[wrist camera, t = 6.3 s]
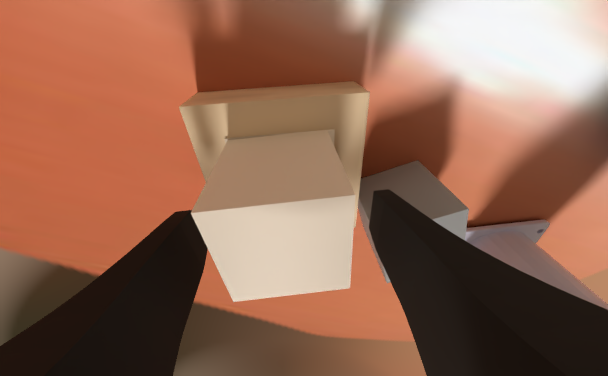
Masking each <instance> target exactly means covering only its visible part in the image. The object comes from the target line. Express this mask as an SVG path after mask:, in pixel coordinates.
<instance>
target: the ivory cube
mask: <svg viewBox="0 0 608 376" xmlns="http://www.w3.org/2000/svg"><path fill="white" fill-rule="evenodd" d="M354 211H355V193H354V191H353V188H352V186H351V184H350V181H349V179H348V177H347V175H346V172H345V170H344V168H343V165H342V163H341V161H340V159H339V156H338V154H337V152H336V149H335V147H334V145H333V143H332V140H331V138H330V136H329V133H328V131H327V130H319V131H310V132H301V133H291V134H282V135H273V136H263V137H254V138H244V139H235V140H228V141H227V143H226V145H225V147H224V149H223V151H222V153H221V154H220V156H219V158H218V160H217V162H216V164H215V166H214V168H213V170H212V172H211V174H210V176H209V178H208V180H207V182H206V184H205V186H204V188H203V190H202V192H201V194H200V196H199V198H198V200H197V202H196V204H195V206H194V208H193V210H192V212H191V215H192V217H193V219H194V221H195V223H196V225H197V227H198V229H199V231H200V233H201V235H202V238H203V240H204V242H205V244H206V246H207V248H208V250H209V252H210V254H211V256H212V258H213V260H214V262H215V264H216V266H217V269H218V271H219V273H220V275H221V277H222V279H223V281H224V283H225V285H226V287H227V289H228V291H229V293H230V295H231V297H232V300H233V302H236V301H244V300H253V299H262V298H270V297H279V296H287V295H296V294H305V293H313V292H322V291H330V290H339V289H347V288H350V280H351V262H352V245H353V228H354Z"/></svg>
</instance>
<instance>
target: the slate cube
mask: <svg viewBox="0 0 608 376" xmlns="http://www.w3.org/2000/svg"><path fill="white" fill-rule="evenodd" d="M386 189H389V190H391V191H392V192H394V193H395V194H397V195H398V196H399V197H401V198H402V199H404V200H405V201H406V202H408V203H409V204H411V205H412V206H413V207H415V208H416V209H418V210H419V211H420V212H422V213H423V214H425V215H426V216H428V217H429V218H430V219H432V220H433V221H435V222H436V223H438V224H439V225H441V226H442V227H444V228H446V229H447V230H449V231H450V232H452V233H454V234H455V235H457V236H458V237H460V238H462V239H463V240H465V237H466V228H467V220H468V211H469V209H468V208H467V207H466V206H465V205H464V204H463V203H462V202H461V201H460V200H459V199H458V198H457V197H456V196H455V195H454V194H453V193H452V192H451V191H450V190H449V189H448V188H446V187H445V186H444V185H443V184H442V183H441V182H440V181H439V180H438V179H437V178H436V177H435V176H434V175H433V174H432V173H431V172H430V171H429V170H428V169H427V168H426V167H425V166H424V165H422V164H421V163H420V162H419V161H418V160H417V161H414V162H411V163H408V164H404V165H401V166H398V167H395V168H392V169H389V170H386V171H383V172H380V173H377V174H374V175H371V176H368V177H364V178H361V180H360V189H359V199H358V209H359V213H360V216H361V220H362V224H363V227H364V229H365V232H366V234H367V237H368V239H369V241H370V244H371V246H372V249H373V251H374V253H375V256H376V258H377V261H378V263H379V265H380V268H381V270H382V273H383V275H384V277H385V280H386V282H387V283H389V282H391V281H390V279H389V277H388V275H387V273H386V271H385V269H384V266H383V264H382V262H381V260H380V258H379V256H378V253H377V251H376V249H375V246H374V243H373V240H372V236H371V233H370V230H369V222H370V215H371V207H372V200H373V192H374V191H376V190H386Z"/></svg>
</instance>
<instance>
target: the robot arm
mask: <svg viewBox="0 0 608 376" xmlns="http://www.w3.org/2000/svg"><path fill="white" fill-rule="evenodd" d="M191 212H192V210H188V211H179V212H175V213H174V214H172V215H171V216H170V217H169V218H168V219H166V220H165V221H164V222H163V223H162V224H160V225H159V226H158V227H157V228H156V229H155V230H154V231H152V232H151V233H150V234H149V235H148V236H147V237H146V238H145V239H143V240H142V241H141V242H140V243H139V244H138V245H136V246H135V247H134V248H133V249H132V250H131V251H130V252H128V253H127V254H126V255H125V256H124V257H122V258H121V259H120V260H119V261H118V262H116V263H115V264H114V265H113V266H111V267H110V268H109V269H108V270H107V271H105V272H104V273H103V274H102V275H100V276H99V277H98V278H97V279H95V280H94V281H93V282H92V283H90V284H89V285H88V286H87V287H85V288H84V289H83V290H81V291H80V292H79V293H77V294H76V295H75V296H73V297H72V298H71V299H69V300H68V301H66V302H65V303H64V304H62V305H61V306H60V307H58V308H57V309H55V310H54V311H53V312H51V313H50V314H48V315H47V316H45V317H44V318H42V319H41V320H40V321H38V322H37V323H35V324H33V325H32V326H31V327H29V328H28V329H26V330H24V331H23V332H21V333H20V334H18V335H17V336H15V337H14V338H12V339H11V340H9V341H8V342H6V343H4V344H3V345H2V346H0V376H173V372H174V367H175V363H176V359H177V355H178V350H179V346H180V342H181V338H182V335H183V331H184V328H185V325H186V322H187V319H188V316H189V313H190V310H191V307H192V304H193V301H194V298H195V295H196V292H197V289H198V286H199V283H200V279H201V276H202V273H203V270H204V265H205V260H206V255H207V249H208V248H207V246H206V244H205V242H204V240H203V238H202V235H201V233H200V231H199V229H198V227H197V225H196V223H195V221H194V219H193V217H192V215H191ZM549 225H550V223H549V222H548V221H546V220H534V221H525V222H516V223H507V224H498V225H489V226H481V227H472V228H466V237H465V240H463V239H462V238H460V237H458V236H457V235H455V234H454V233H452V232H450V231H449V230H447V229H446V228H444V227H442V226H441V225H439V224H438V223H436V222H435V221H433V220H432V219H430V218H429V217H428V216H426V215H425V214H423V213H422V212H420V211H419V210H418V209H416V208H415V207H413V206H412V205H411V204H409V203H408V202H406V201H405V200H404V199H402V198H401V197H399V196H398V195H397V194H395V193H394V192H392V191H391V190H389V189H386V190H376V191H374V192H373V200H372V207H371V215H370V222H369V230H370V233H371V236H372V240H373V243H374V246H375V249H376V251H377V253H378V256H379V258H380V260H381V262H382V264H383V266H384V269H385V271H386V273H387V275H388V277H389V279H390V281H391V283H392V286H393V288H394V290H395V292H396V294H397V296H398V298H399V301H400V303H401V305H402V307H403V310H404V312H405V315H406V317H407V320H408V323H409V326H410V328H411V331H412V334H413V337H414V339H415V342H416V345H417V348H418V351H419V354H420V356H421V360H422V363H423V366H424V368H425V372H426V375H427V376H608V304H607V303H606V302H604V301H603V300H602V299H601V298H599V297H598V296H597V295H596V294H595V293H594V292H593V291H591V290H590V289H589V288H588V287H587V286H585V285H584V284H583V283H582V282H581V281H580V280H578V279H577V278H576V277H575V276H574V275H572V274H571V273H570V272H569V271H568V270H566V269H565V268H564V267H563V266H562V265H561V264H559V263H558V262H557V261H556V260H555V259H553V258H552V257H551V256H550V255H549V254H547V253H546V252H545V251H544V250H543V249H542V248H540V247H539V246H538V245H537V244H536V242H537V241H538V240H539V239H540V237H541V236H542V235H543V233H544V232H545V231H546V229H547V228H548V227H549Z"/></svg>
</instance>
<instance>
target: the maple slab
mask: <svg viewBox="0 0 608 376" xmlns="http://www.w3.org/2000/svg"><path fill="white" fill-rule="evenodd" d="M369 97H370V92H369V91H367V90H366V89H365V88H363V87H362V86H360V85H359V84H357V83H356V82H355V81H347V82H333V83H320V84H306V85H292V86H279V87H265V88H251V89H238V90H224V91H210V92H197V93H196V94H195V95H194V96H192V97H191V98H190V99H188V100H187V101H186V102H184V103H183V104H182V105H181V106H179V109H180V111H181V114H182V117H183V120H184V122H185V125H186V128H187V131H188V134H189V136H190V139H191V142H192V145H193V148H194V150H195V153H196V156H197V159H198V162H199V164H200V167H201V170H202V173H203V175H204V178H205V181H206V182H207V180H208V178H209V176H210V174H211V172H212V170H213V168H214V166H215V164H216V162H217V160H218V158H219V156H220V154H221V153H222V151H223V149H224V147H225V145H226V143H227V141H228V140H235V139H244V138H254V137H263V136H273V135H282V134H291V133H301V132H310V131H319V130H327V131H328V133H329V136H330V138H331V140H332V143H333V145H334V147H335V149H336V152H337V154H338V156H339V159H340V161H341V163H342V165H343V168H344V170H345V172H346V175H347V177H348V179H349V181H350V184H351V186H352V188H353V191H354V193H355V211H354V227H356V217H357V208H358V199H359V189H360V180H361V171H362V162H363V152H364V143H365V134H366V124H367V115H368V106H369Z"/></svg>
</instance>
